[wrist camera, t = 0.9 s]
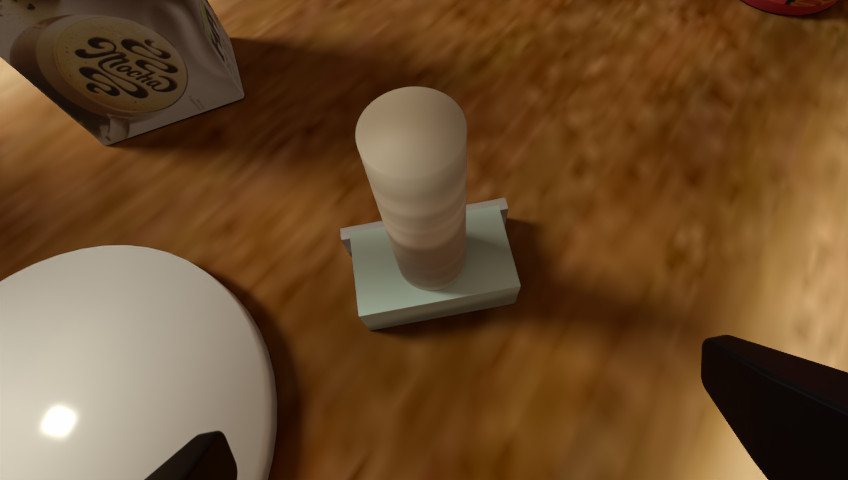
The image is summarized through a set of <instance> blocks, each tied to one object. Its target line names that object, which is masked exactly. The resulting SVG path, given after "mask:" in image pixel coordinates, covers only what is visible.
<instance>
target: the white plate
mask: <svg viewBox="0 0 848 480" xmlns="http://www.w3.org/2000/svg"><path fill="white" fill-rule="evenodd" d="M217 430H218V431H221V432H223V433H224V435H225V437H226V439H227V441H228V444H229V446H230V449H231V451H232V454H233V456H234V459H235V461H236V464H237V471H238V474H237V480H268V477H269V473H270V469H271V465H272V461H273V455H274V448H275V440H276V433H277V393H276V385H275V376H274V371H273V367H272V363H271V359H270V355H269V351H268V349H267V346H266V344H265V342H264V339H263V337H262V334H261V332H260V330H259V328H258V326H257V325H256V323H255V321H254V320H253V318H252V316H251V315H250V313H249V311H248V310H247V309H246V308H245V306H244V305H243V304H242V303H241V302H240V300H239V299H238V298H237V297H236V296H235V295H234V294H233V293H232V292H231V291H230V290H228V289H227V288H226V287H225V286H224V285H223V284H222V283H220V282H219V281H218V280H216V279H215V278H214V277H212V276H211V275H209V274H208V273H206V272H205V271H203V270H202V269H200V268H199V267H197V266H195V265H194V264H192V263H191V262H189V261H187V260H185V259H182V258H180V257H178V256H175V255H173V254H170V253H168V252H164V251H160V250H156V249H152V248H148V247H139V246H129V245H114V246H99V247H92V248H85V249H80V250H76V251H72V252H68V253H64V254H60V255H57V256H54V257H52V258H49V259H46V260H43V261H41V262H38V263H35V264H33V265H31V266H29V267H27V268H25V269H23V270H21V271H19V272H17V273H15V274H13V275H11V276H9V277H7V278H6V279H4V280H2V281H1V282H0V480H144V479H145V478H147V477H148V476H149V475H150V474H151V473H153V472H154V471H155V470H156V469H157V468H158V467H160V466H161V465H162V464H163V463H164V462H166V461H167V460H168V459H169V458H170V457H171V456H173V455H174V454H175V453H176V452H177V451H179V450H180V449H181V448H182V447H183V446H184V445H186V444H187V443H188V442H189V441H190V440H192V439H193V438H194V437H195V436H196V435H198V434H201V433H206V432H211V431H217Z"/></svg>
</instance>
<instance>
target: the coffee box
mask: <svg viewBox="0 0 848 480" xmlns="http://www.w3.org/2000/svg"><path fill="white" fill-rule="evenodd" d="M0 57H1V58H3V59H4V60H5V61H6V62H7V63H8V64H9V65H11V66H12V67H13V68H15V69H16V70H17V71H18V72H19V73H20V74H22V75H23V76H24V77H25V78H26V79H28V80H29V81H30V82H31V83H32V84H33V85H34V86H35V87H37V88H38V89H39V90H40V91H41V92H43V93H44V94H45V95H46V96H47V97H48V98H49V99H51V100H52V101H53V102H54V103H55V104H57V105H58V106H59V107H60V108H61V109H62V110H64V111H65V112H66V113H67V114H69V115H70V116H71V117H72V118H73V119H74V120H75V121H77V122H78V123H79V124H80V125H81V126H83V127H84V128H85V129H86V130H87V131H89V132H90V133H91V134H92V135H93V136H94V137H95V138H96V139H97V140H99V141H100V142H101V143H102V144H103V145H110V144H113V143H116V142H119V141H121V140H124V139H127V138H130V137H133V136H136V135H139V134H142V133H145V132H148V131H150V130H153V129H156V128H159V127H162V126H165V125H168V124H171V123H174V122H177V121H180V120H182V119H185V118H188V117H191V116H194V115H197V114H200V113H203V112H205V111H208V110H211V109H214V108H217V107H220V106H223V105H226V104H229V103H232V102H235V101H237V100H240V99H243V98H244V92H243V88H242V83H241V80H240V75H239V71H238V67H237V63H236V59H235V55H234V51H233V48H232V44H231V41H230V38H229V36H228V35H227V33H226V31H225V30H224V28H223V26H222V24H221V23H220V21H219V20H218V18H217V16H216V14H215V13H214V11H213V9H212V8H211V6H210V4H209V2H208V1H207V0H0Z"/></svg>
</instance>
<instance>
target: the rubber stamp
mask: <svg viewBox="0 0 848 480" xmlns="http://www.w3.org/2000/svg"><path fill="white" fill-rule="evenodd" d="M355 136H356V144H357V147H358V150H359V153H360V156H361V159H362V162H363V165H364V168H365V171H366V174H367V176H368V179H369V182H370V185H371V188H372V191H373V194H374V197H375V200H376V203H377V206H378V208H379V211H380V214H381V217H382V220H383V221H379V222H374V223H368V224H363V225H358V226H352V227H347V228H342V229H340V231H341V240H342V242H343V244H344V245H345V247H346V249H347V251H348V252H349V254H350V256H352V260H353V269H354V278H355V287H356V295H357V304H358V313H359V317H360V319H361V320H362V321H363V323H364V324H365V325H366V327H367V328H368V329H369V331H371V330H377V329H382V328H387V327H392V326H398V325H403V324H408V323H414V322H419V321H424V320H430V319H435V318H440V317H445V316H451V315H456V314H461V313H467V312H472V311H477V310H483V309H488V308H493V307H498V306H504V305H509V304H514V303H515V302H516V299H517V296H518V293H519V290H520V287H521V285H520V281H519V278H518V274H517V271H516V267H515V263H514V260H513V256H512V252H511V249H510V245H509V242H508V238H507V234H506V231H505V223H506V218H507V212H508V206H507V203H506V199H505V198H501V199H496V200H491V201H485V202H480V203H475V204H469V205H466V168H467V123H466V119H465V116H464V113H463V111H462V110H461V108H460V107H459V105H458V104H457V103H456V102H455V101H454V100H453V99H452V98H450V97H449V96H448V95H446V94H444V93H442V92H440V91H438V90H435V89H431V88H426V87H404V88H399V89H395V90H392V91H389V92H387V93H385V94H383V95H381V96H380V97H378V98H376V99H375V100H374V101H373V102H371V103H370V104H369V105H368V106H367V107H366V109H365V110H364V111H363V113H362V114H361V116H360V118H359V120H358V123H357V126H356V133H355Z"/></svg>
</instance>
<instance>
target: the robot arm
mask: <svg viewBox="0 0 848 480" xmlns="http://www.w3.org/2000/svg"><path fill="white" fill-rule="evenodd" d="M701 379H702V383H703V385H704V388H705V389H706V391H707V392H708V394H709V395H710V397H711V398H712V400H713V401H714V403H715V404H716V406H717V407H718V409H719V410H720V412H721V413H722V415H723V416H724V418H725V419H726V421H727V422H728V424H729V425H730V427H731V428H732V430H733V431H734V433H735V434H736V436H737V437H738V439H739V440H740V442H741V443H742V445H743V446H744V448H745V449H746V451H747V452H748V454H749V455H750V456H751V458H752V459H753V461H754V462H755V463H756V465H757V466H758V467H759V469H760V470H761V471H762V472H763V474H764V475H765V476H766V477H767V479H768V480H848V372H844V371H841V370H838V369H835V368H832V367H829V366H825V365H822V364H819V363H816V362H813V361H810V360H806V359H803V358H800V357H797V356H794V355H791V354H787V353H784V352H781V351H778V350H775V349H772V348H768V347H765V346H762V345H759V344H756V343H753V342H750V341H746V340H743V339H740V338H737V337H734V336H730V335H722V336H716V337H711V338H707V339H705V340H704V341H703V344H702V358H701ZM237 474H238V471H237V464H236V461H235V459H234V456H233V454H232V451H231V449H230V446H229V444H228V441H227V439H226V437H225V435H224V433H223V432H221V431H218V430H217V431H211V432H206V433H201V434H198V435H196V436H195V437H194V438H193V439H192V440H190V441H189V442H188V443H187V444H186V445H184V446H183V447H182V448H181V449H180V450H179V451H177V452H176V453H175V454H174V455H173V456H171V457H170V458H169V459H168V460H167V461H166V462H164V463H163V464H162V465H161V466H160V467H158V468H157V469H156V470H155V471H154V472H153V473H151V474H150V475H149V476H148V477H147V478H145V479H144V480H237Z"/></svg>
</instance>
